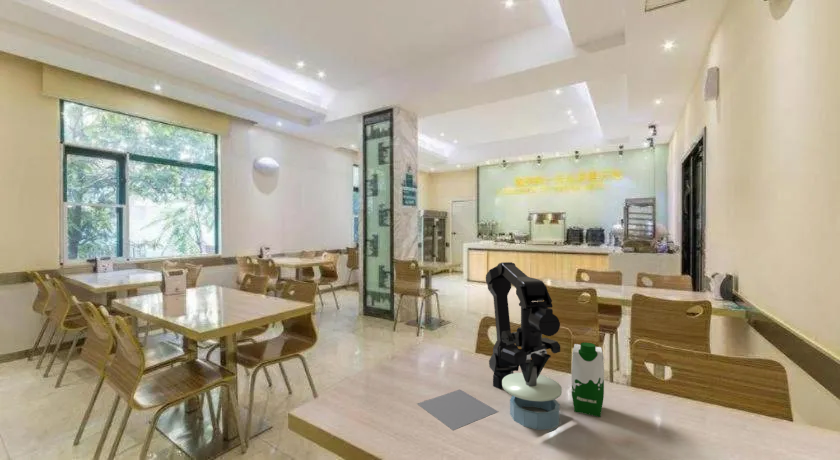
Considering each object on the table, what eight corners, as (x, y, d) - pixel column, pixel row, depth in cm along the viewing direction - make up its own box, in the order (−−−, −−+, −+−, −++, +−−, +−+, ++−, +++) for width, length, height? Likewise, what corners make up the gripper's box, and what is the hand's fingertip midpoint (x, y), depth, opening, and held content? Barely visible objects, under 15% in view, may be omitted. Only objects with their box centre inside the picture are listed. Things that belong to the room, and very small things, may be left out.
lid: (527, 371, 114) (527, 352, 114) (573, 391, 100) (574, 369, 100) (490, 383, 105) (490, 363, 105) (535, 407, 91) (535, 383, 91)
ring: (530, 403, 112) (530, 387, 112) (568, 423, 101) (569, 405, 101) (501, 416, 104) (501, 399, 104) (538, 438, 94) (539, 419, 94)
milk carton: (570, 412, 106) (571, 344, 106) (572, 399, 115) (572, 336, 114) (604, 419, 103) (605, 349, 102) (603, 405, 111) (603, 339, 111)
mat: (459, 392, 119) (460, 389, 119) (498, 414, 105) (498, 411, 105) (416, 406, 110) (416, 403, 110) (452, 433, 96) (452, 430, 96)
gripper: (530, 314, 114) (530, 364, 114) (486, 323, 104) (486, 378, 104) (561, 322, 105) (561, 376, 105) (516, 333, 95) (516, 393, 95)
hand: (531, 380), depth 103 cm, fingers closed on lid, 3 cm apart
